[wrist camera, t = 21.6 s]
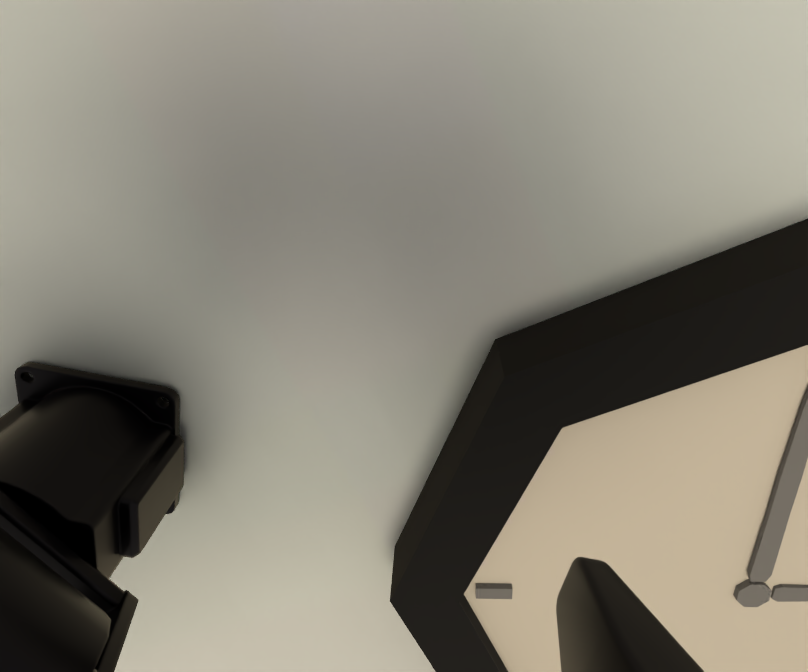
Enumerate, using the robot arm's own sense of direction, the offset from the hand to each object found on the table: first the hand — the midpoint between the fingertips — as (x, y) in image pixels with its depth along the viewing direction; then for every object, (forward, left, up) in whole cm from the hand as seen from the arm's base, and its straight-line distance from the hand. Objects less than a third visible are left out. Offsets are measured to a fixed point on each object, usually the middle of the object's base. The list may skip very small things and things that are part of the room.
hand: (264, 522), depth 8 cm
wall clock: (+18, -10, -13) cm, 24 cm away
